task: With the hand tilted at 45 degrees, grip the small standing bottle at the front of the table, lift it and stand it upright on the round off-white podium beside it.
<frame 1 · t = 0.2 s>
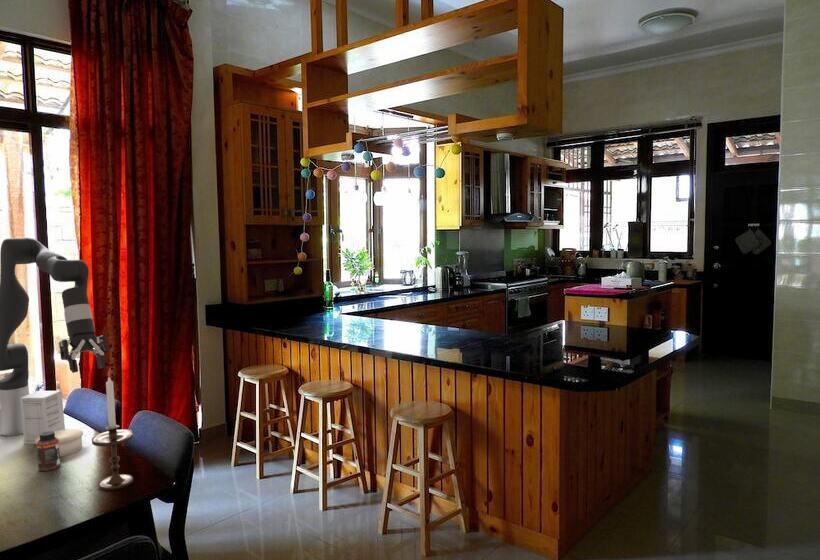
hand: (88, 370, 182), 31 cm above the table, tool tilted 20°, fingers open, 8 cm apart
supplement box: (45, 440, 208), on the table
podium: (60, 450, 197), on the table
candlestick: (116, 484, 170), on the table
supplement bottle: (49, 468, 182), on the table
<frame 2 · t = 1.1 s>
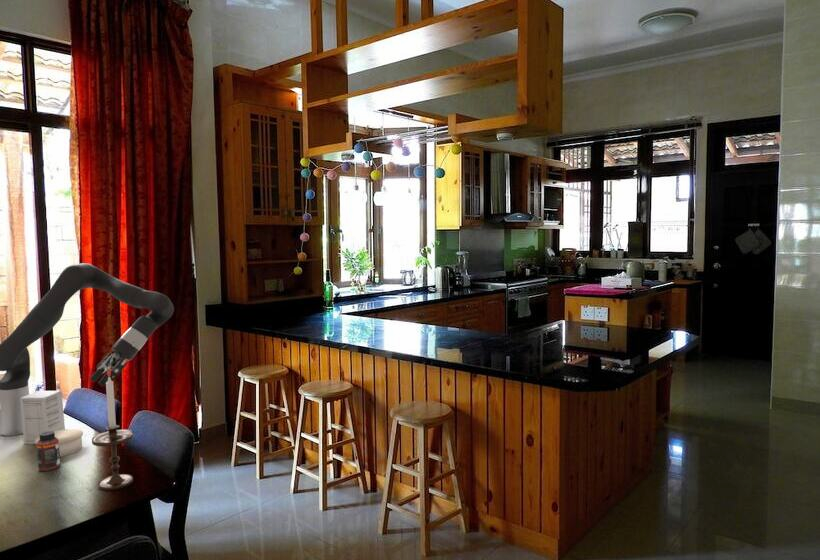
hand: (96, 382, 193), 24 cm above the table, tool tilted 45°, fingers open, 8 cm apart
nothing on the table moved.
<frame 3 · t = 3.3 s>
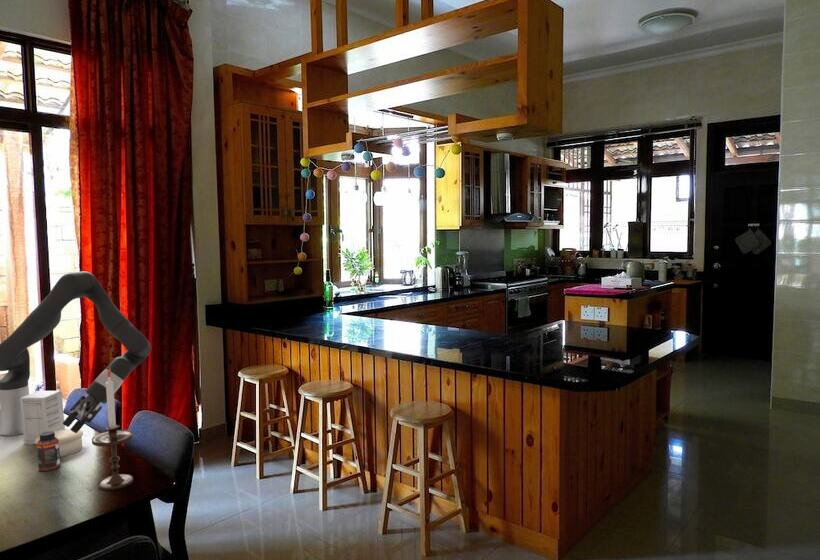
hand: (69, 428, 186), 11 cm above the table, tool tilted 45°, fingers open, 8 cm apart
nothing on the table moved.
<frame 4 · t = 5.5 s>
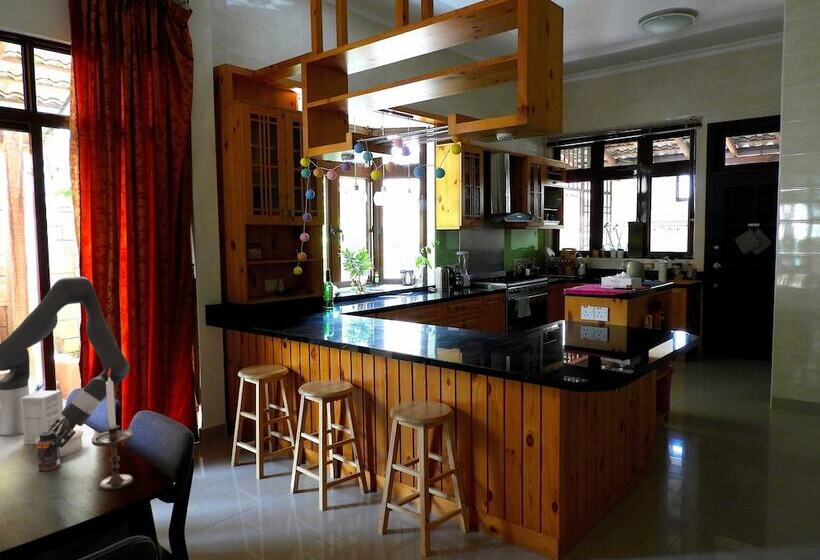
hand: (42, 453, 181), 5 cm above the table, tool tilted 45°, fingers closed on supplement bottle, 6 cm apart
supplement bottle: (49, 468, 182), on the table, touching gripper
everything else where it was.
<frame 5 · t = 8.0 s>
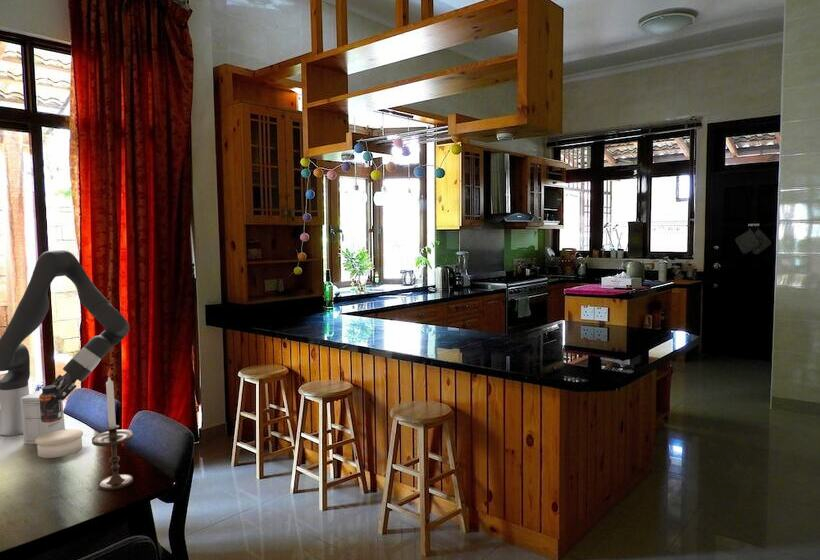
hand: (44, 406, 188), 18 cm above the table, tool tilted 45°, fingers closed on supplement bottle, 6 cm apart
supplement bottle: (51, 420, 190), point 12 cm above the table, touching gripper
everything else where it was.
when the fingers open (11 cm above the table, at t = 10.5 s): supplement bottle drops 1 cm, resting on podium.
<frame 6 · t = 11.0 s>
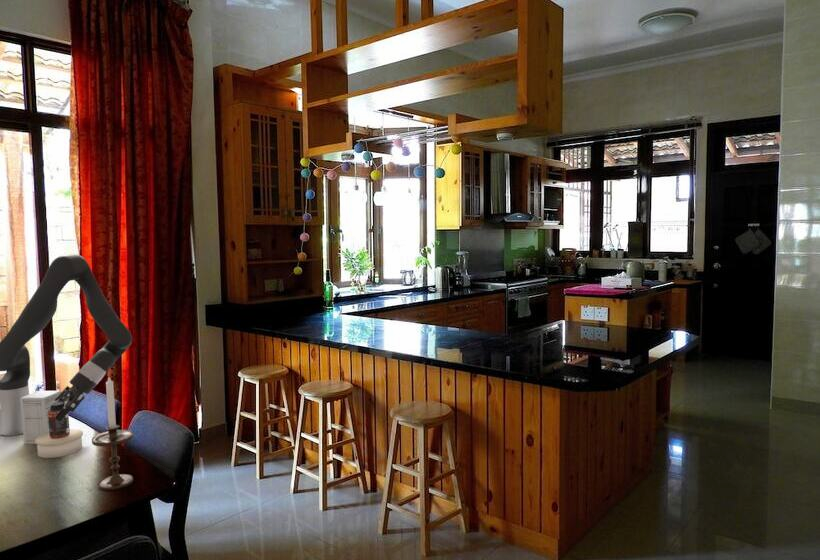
hand: (53, 417, 195), 12 cm above the table, tool tilted 45°, fingers open, 8 cm apart
supplement bottle: (59, 436, 197), point 5 cm above the table, touching podium
everything else where it was.
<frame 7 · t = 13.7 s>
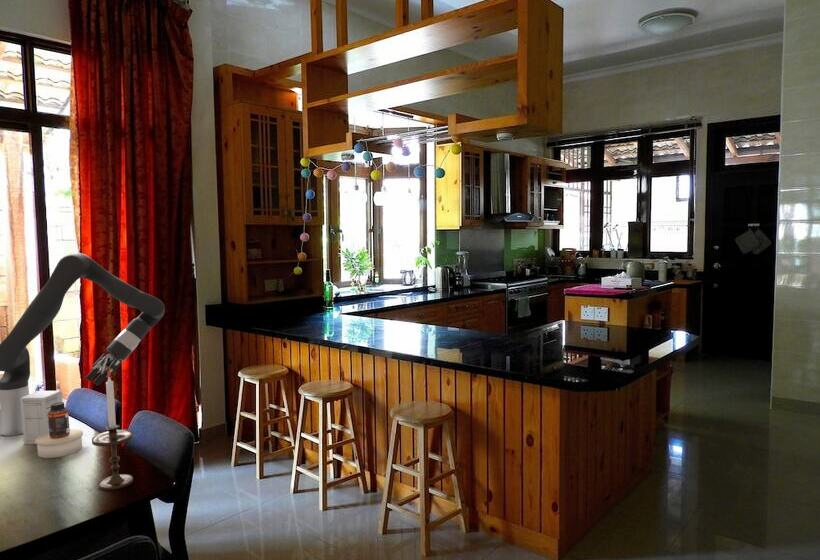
hand: (91, 382, 203), 22 cm above the table, tool tilted 45°, fingers open, 8 cm apart
nothing on the table moved.
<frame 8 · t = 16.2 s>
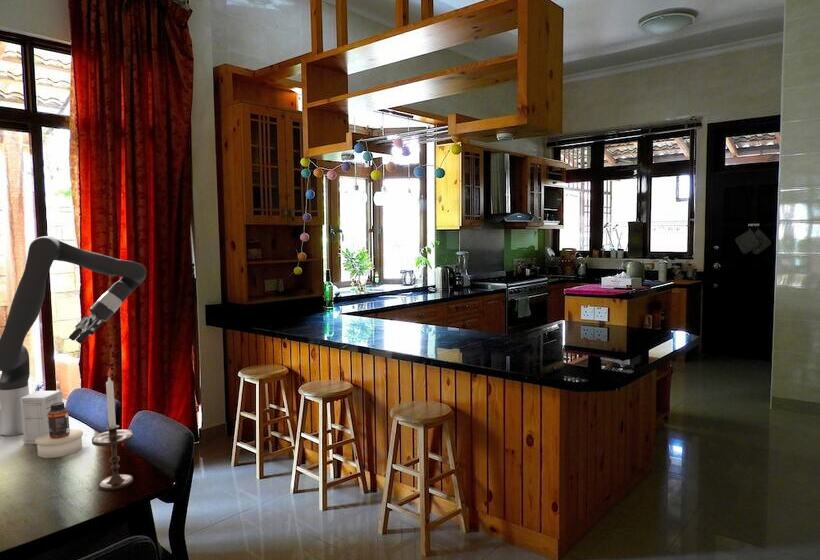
hand: (74, 340, 211), 35 cm above the table, tool tilted 45°, fingers open, 8 cm apart
nothing on the table moved.
at the end: supplement bottle inside the target area on the podium (0.4 cm from its centre), point 4.8 cm above the podium's base; supplement bottle tilted 0°; the gripper is holding nothing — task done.
